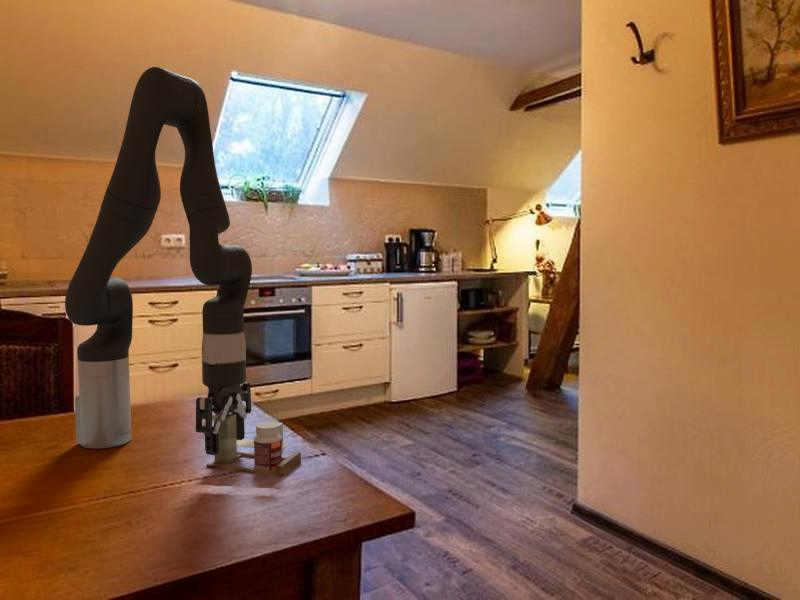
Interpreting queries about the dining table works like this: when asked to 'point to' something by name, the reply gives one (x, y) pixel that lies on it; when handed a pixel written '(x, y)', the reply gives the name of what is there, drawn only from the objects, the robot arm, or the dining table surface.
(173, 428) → the dining table surface
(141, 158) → the robot arm
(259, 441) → the pill bottle
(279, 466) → the open wooden frame
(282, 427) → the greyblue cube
